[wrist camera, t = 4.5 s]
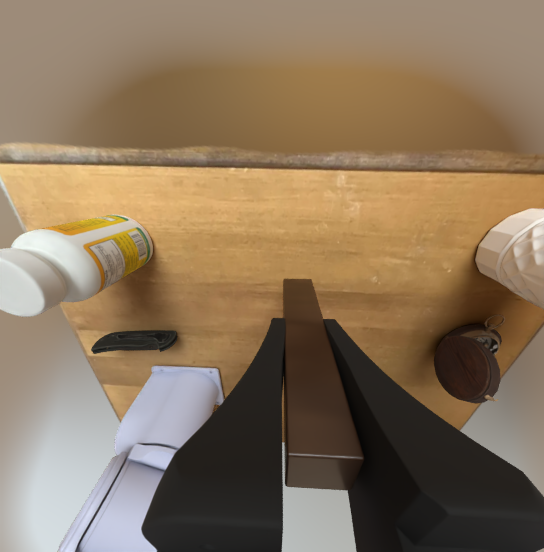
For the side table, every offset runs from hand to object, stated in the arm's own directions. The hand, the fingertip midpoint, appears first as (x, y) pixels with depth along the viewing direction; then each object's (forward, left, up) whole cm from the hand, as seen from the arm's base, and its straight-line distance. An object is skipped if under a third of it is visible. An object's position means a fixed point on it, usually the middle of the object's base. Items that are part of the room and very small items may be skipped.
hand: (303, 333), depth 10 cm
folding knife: (-19, -10, -10) cm, 24 cm away
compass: (+20, -9, -10) cm, 25 cm away
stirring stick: (0, 0, -4) cm, 4 cm away
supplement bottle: (-17, +2, -10) cm, 20 cm away
